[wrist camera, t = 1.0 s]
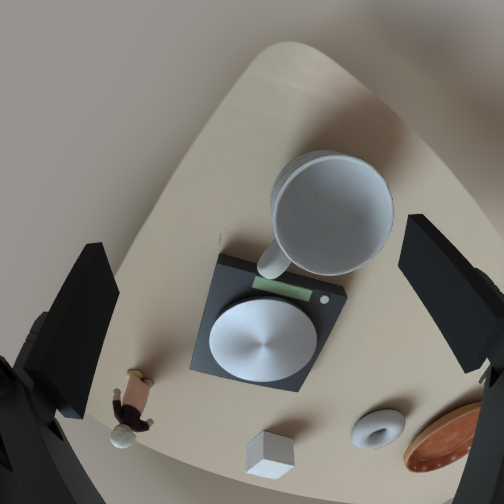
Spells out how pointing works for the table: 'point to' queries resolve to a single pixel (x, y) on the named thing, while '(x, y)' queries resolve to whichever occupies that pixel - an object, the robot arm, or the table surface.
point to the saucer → (443, 440)
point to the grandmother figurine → (130, 410)
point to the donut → (383, 420)
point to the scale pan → (263, 338)
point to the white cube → (269, 455)
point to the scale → (254, 284)
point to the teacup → (327, 215)
